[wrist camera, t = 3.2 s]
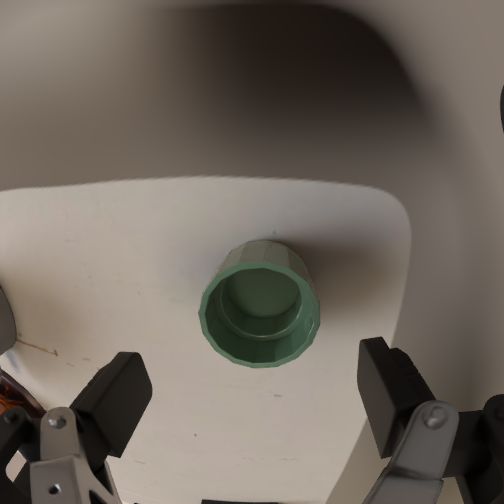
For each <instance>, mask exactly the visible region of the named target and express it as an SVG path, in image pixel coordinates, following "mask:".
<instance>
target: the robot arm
mask: <svg viewBox="0 0 504 504" xmlns="http://www.w3.org/2000/svg"><path fill="white" fill-rule="evenodd" d="M357 383H358V389H359V392H360V395H361V398H362V401H363V404H364V407H365V410H366V413H367V416H368V419H369V422H370V425H371V428H372V431H373V435H374V438H375V441H376V444H377V448H378V451H379V454H380V457H381V459H383V458H387V457H391V456H392V458H391V460H390V462H389V463H388V465H387V467H385V468H384V469H383V471H382V473H381V474H380V476H379V477H378V479H377V481H376V483H375V484H374V486H373V487H372V489H371V491H370V492H369V494H368V495H367V497H366V498H365V500H364V501H363V503H362V504H436V502H437V500H438V497H439V495H440V492H441V490H442V486H443V482H444V481H443V480H442V478H445V477H455V478H456V481H457V484H458V487H459V490H460V492H461V495H462V498H463V502H464V504H504V394H500V395H496V396H493V397H491V398H490V399H489V400H488V401H487V402H486V404H485V406H484V408H483V410H478V411H468V412H457V410H456V409H455V408H454V407H453V406H452V405H451V404H449V403H447V402H443V401H437V400H436V399H435V397H434V395H433V394H432V392H431V390H430V389H429V387H428V386H427V384H426V382H425V381H424V379H423V378H422V376H421V375H420V373H418V370H417V368H416V367H415V365H413V362H412V361H411V359H410V358H409V356H408V355H407V354H406V353H404V352H403V351H401V350H400V349H398V348H393V349H389V347H388V345H387V344H386V342H385V340H384V339H383V337H381V336H380V337H375V338H369V339H363V340H361V341H360V344H359V358H358V370H357ZM87 385H88V386H86V387H85V388H84V389H83V390H82V391H81V393H80V394H79V395H78V396H77V398H76V399H75V400H74V401H73V403H72V404H71V405H70V406H69V408H67V407H57V408H54V409H51V410H50V411H48V412H47V413H46V414H45V415H44V416H43V417H42V418H30V417H29V415H28V414H27V412H26V411H25V409H24V408H23V407H20V406H14V407H10V408H8V409H6V410H5V411H4V412H3V413H2V414H1V415H0V504H122V502H121V500H120V498H119V495H118V492H117V489H116V486H115V483H114V480H113V477H112V474H111V471H110V468H109V465H108V463H107V461H106V460H105V459H106V458H107V456H108V455H110V456H114V457H118V458H121V456H122V454H123V452H124V450H125V448H126V446H127V444H128V442H129V440H130V438H131V436H132V434H133V432H134V430H135V428H136V426H137V425H138V423H139V421H140V419H141V417H142V415H143V413H144V411H145V409H146V407H147V405H148V403H149V402H150V400H151V397H152V384H151V381H150V379H149V376H148V373H147V371H146V368H145V365H144V362H143V360H142V357H141V355H140V354H139V353H137V352H119V353H118V354H117V355H116V356H115V357H114V359H113V360H112V361H111V362H110V363H109V364H107V365H106V366H104V367H103V368H101V369H100V370H99V371H98V372H97V373H96V374H95V376H94V377H93V380H92V379H91V380H90V382H89V383H88V384H87ZM17 450H18V451H19V452H20V453H21V454H22V455H23V457H24V458H25V459H26V460H27V461H26V463H25V465H24V467H23V468H22V469H21V471H20V472H19V474H18V475H17V477H16V479H15V480H14V482H12V481H11V480H10V479H9V478H8V477H7V475H6V466H7V464H8V463H9V462H10V460H11V458H12V457H13V456H14V454H15V453H16V451H17ZM134 504H138V503H134Z"/></svg>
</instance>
